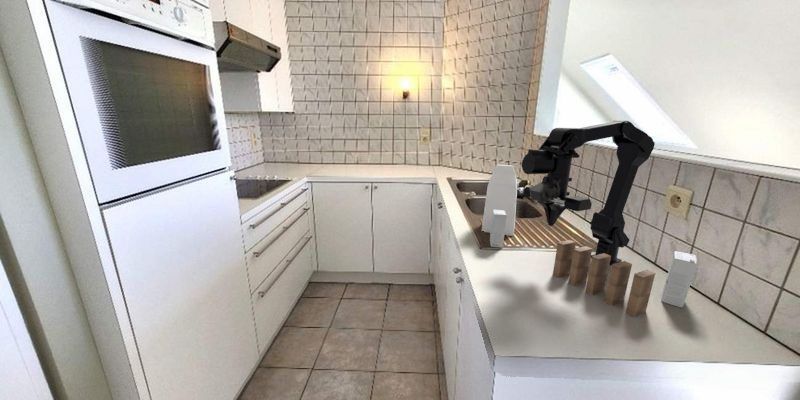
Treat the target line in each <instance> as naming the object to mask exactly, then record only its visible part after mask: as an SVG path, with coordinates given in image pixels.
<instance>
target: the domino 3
mask: <svg viewBox="0 0 800 400" xmlns="http://www.w3.org/2000/svg"><path fill="white" fill-rule="evenodd" d="M610 259H611V256H610V255H608V254H605V253H603V254H599V255H595V256H592V258H591V259H590V264H589V269H588V275H587V280H586V285H585V291H584V292H586V293H587V294H588V295H591V296H593V295H597V294H598V293H601V292H604V291H605V289H606V288H605V287H606V285H607V284H606V283H607V278H608V274H609V268H610V265H609V264H610Z"/></svg>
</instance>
